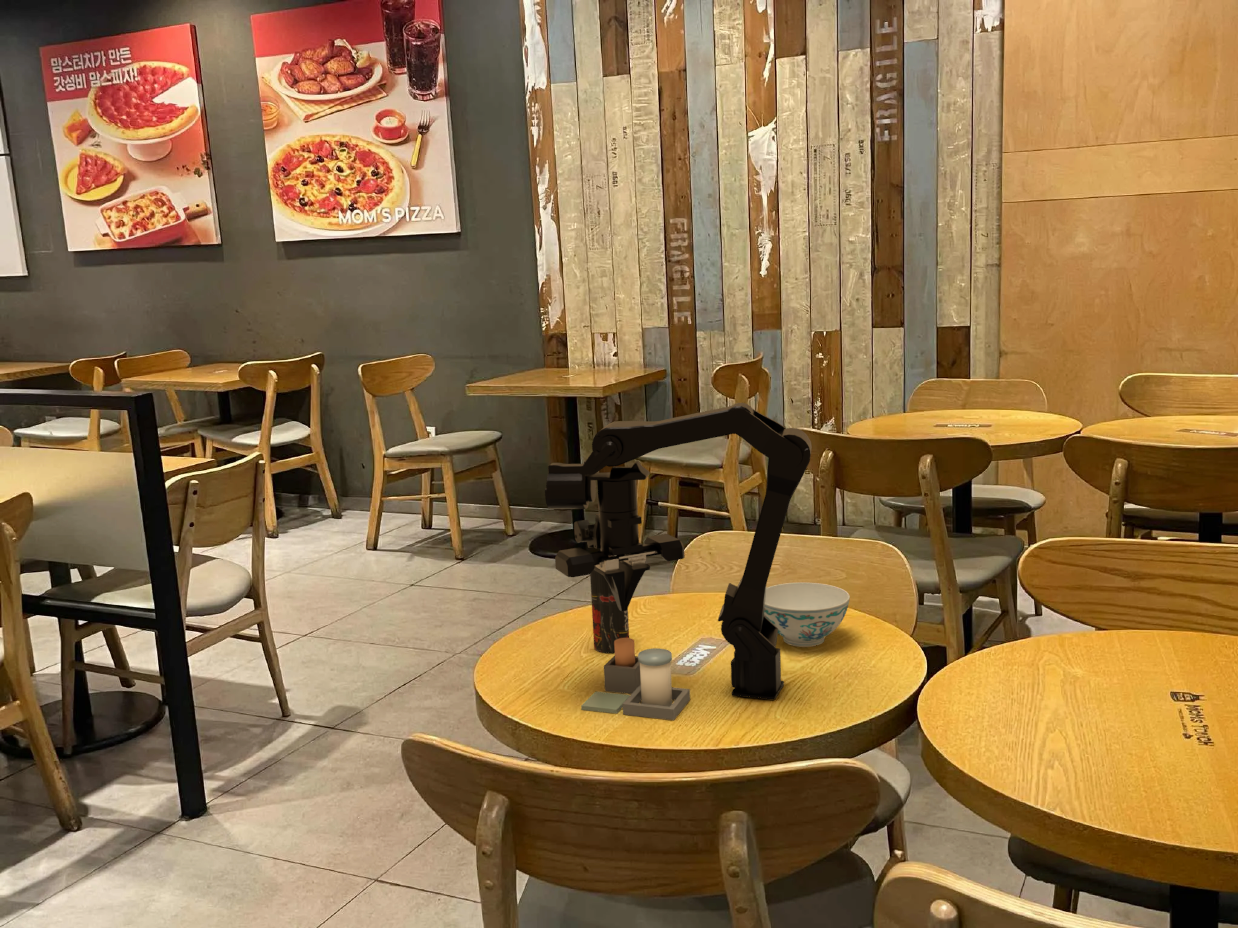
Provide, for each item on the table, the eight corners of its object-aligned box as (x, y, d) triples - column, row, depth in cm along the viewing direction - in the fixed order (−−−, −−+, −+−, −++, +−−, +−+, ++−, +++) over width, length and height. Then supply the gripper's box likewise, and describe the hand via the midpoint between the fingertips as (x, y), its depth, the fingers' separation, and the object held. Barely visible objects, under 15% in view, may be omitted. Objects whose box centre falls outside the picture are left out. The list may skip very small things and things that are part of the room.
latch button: (638, 663, 166) (637, 638, 166) (631, 670, 164) (630, 645, 163) (619, 662, 168) (618, 637, 167) (612, 669, 165) (611, 643, 164)
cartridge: (678, 702, 160) (676, 649, 158) (667, 715, 155) (665, 661, 154) (647, 698, 161) (644, 647, 160) (635, 711, 157) (633, 658, 155)
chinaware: (756, 655, 177) (755, 609, 175) (760, 624, 191) (759, 581, 190) (851, 656, 174) (851, 610, 173) (848, 625, 189) (847, 582, 187)
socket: (690, 699, 160) (689, 688, 160) (673, 720, 153) (673, 709, 153) (641, 694, 163) (640, 683, 163) (623, 714, 156) (622, 703, 156)
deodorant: (629, 652, 180) (625, 564, 178) (593, 654, 181) (588, 565, 178) (629, 640, 186) (625, 554, 184) (594, 641, 186) (590, 556, 184)
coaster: (630, 698, 162) (630, 694, 161) (616, 713, 157) (616, 709, 156) (595, 695, 164) (595, 691, 163) (581, 709, 158) (581, 705, 158)
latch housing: (647, 681, 168) (646, 657, 167) (636, 694, 163) (635, 668, 162) (617, 678, 169) (615, 654, 169) (604, 691, 165) (603, 665, 164)
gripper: (651, 491, 172) (655, 587, 175) (539, 506, 165) (545, 606, 168) (684, 504, 162) (688, 605, 165) (566, 521, 155) (572, 627, 158)
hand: (622, 610), depth 164 cm, fingers closed
